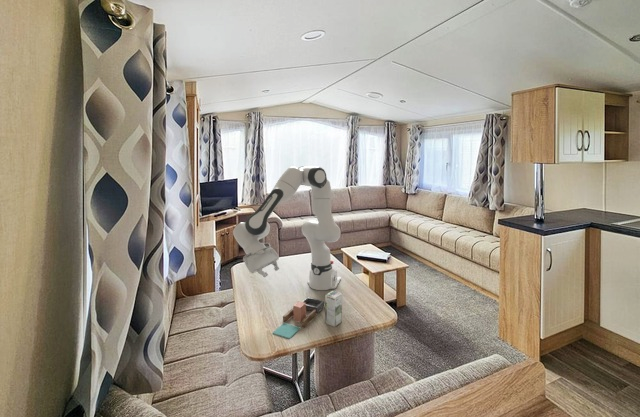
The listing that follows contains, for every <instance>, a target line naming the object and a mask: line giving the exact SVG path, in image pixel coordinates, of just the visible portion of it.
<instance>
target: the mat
mask: <svg viewBox="0 0 640 417" xmlns="http://www.w3.org/2000/svg"><path fill="white" fill-rule="evenodd" d="M301 328H302V326H301V327H300V326H296V325H293V324H290V323H287V322H283V323H282V324H280V326H278V327H277V328H276V329H275V330H274V331H273V332H272V333H271V334H273V335H276V336H279V337H282V338H285V339H288V340H290V339H291V338H292V337H293V336H295V335H296V334H297V333H298V331H300V330H301Z"/></svg>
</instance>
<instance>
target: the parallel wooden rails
mask: <svg viewBox="0 0 640 417" xmlns="http://www.w3.org/2000/svg"><path fill="white" fill-rule="evenodd" d="M293 317H294V314H293V307H292V308H291V309H290V310H288V311H287V312H286V313H285V314H284V315H283V316H282V322H283V323H287V322H288V321H289V320H290V319H292V318H293ZM316 317H317V313H316V310H313V311H312V312H310V313H309V314H307V315H306V318H305V319H303V320H302V322H301V328H303V329H304V328H306V327H307V325H308V324H310V322H311V321H313V320H314V319H315V318H316Z"/></svg>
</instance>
